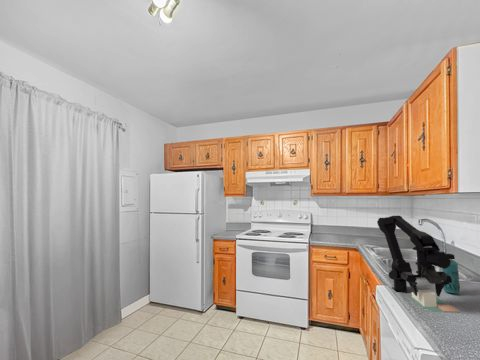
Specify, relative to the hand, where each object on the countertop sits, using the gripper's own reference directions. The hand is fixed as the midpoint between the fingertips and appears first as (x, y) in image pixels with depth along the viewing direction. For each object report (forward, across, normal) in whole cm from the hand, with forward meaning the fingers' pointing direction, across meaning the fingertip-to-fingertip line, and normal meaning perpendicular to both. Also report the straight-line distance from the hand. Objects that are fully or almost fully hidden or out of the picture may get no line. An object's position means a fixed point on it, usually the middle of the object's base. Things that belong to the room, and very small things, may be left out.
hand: (426, 296), depth 110 cm
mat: (+4, +2, +1) cm, 5 cm away
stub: (+4, 0, 0) cm, 4 cm away
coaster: (+4, +6, -3) cm, 8 cm away
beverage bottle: (+5, +19, +14) cm, 24 cm away
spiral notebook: (+4, 0, +5) cm, 7 cm away
